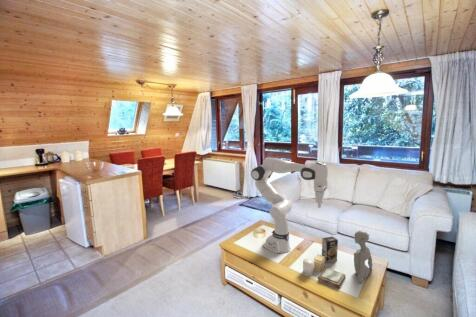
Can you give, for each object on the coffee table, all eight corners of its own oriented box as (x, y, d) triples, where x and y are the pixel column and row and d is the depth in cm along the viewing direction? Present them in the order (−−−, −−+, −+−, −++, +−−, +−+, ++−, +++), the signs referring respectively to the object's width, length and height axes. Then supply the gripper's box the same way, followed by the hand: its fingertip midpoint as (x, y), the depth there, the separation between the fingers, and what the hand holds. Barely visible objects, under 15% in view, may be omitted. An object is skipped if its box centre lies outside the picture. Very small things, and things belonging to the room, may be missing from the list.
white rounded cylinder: (301, 273, 163) (301, 262, 162) (305, 268, 169) (305, 257, 167) (311, 276, 159) (311, 265, 158) (315, 271, 164) (315, 260, 163)
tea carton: (313, 269, 167) (313, 258, 166) (317, 264, 172) (317, 254, 171) (320, 272, 164) (321, 261, 163) (324, 267, 169) (324, 256, 168)
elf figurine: (358, 263, 172) (360, 223, 168) (373, 268, 165) (376, 227, 161) (346, 278, 157) (348, 234, 152) (362, 285, 150) (364, 239, 145)
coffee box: (326, 262, 174) (327, 241, 172) (321, 258, 180) (321, 237, 178) (337, 260, 176) (338, 239, 174) (331, 255, 183) (332, 235, 180)
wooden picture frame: (318, 280, 155) (318, 276, 154) (325, 270, 165) (325, 266, 164) (339, 288, 147) (339, 284, 146) (345, 278, 157) (345, 273, 156)
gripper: (317, 181, 177) (317, 200, 179) (313, 189, 158) (313, 209, 160) (326, 182, 174) (326, 201, 176) (324, 190, 156) (323, 210, 158)
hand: (320, 205), depth 168 cm, fingers open, 8 cm apart
